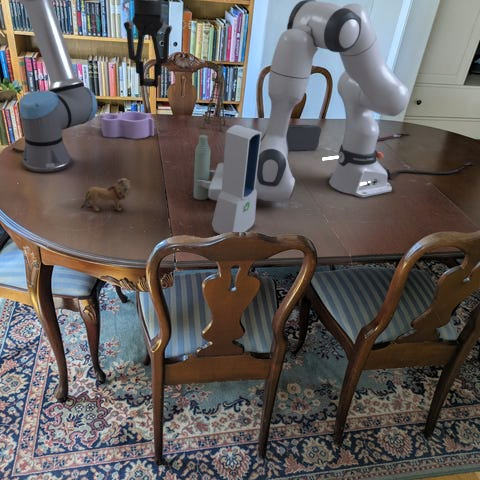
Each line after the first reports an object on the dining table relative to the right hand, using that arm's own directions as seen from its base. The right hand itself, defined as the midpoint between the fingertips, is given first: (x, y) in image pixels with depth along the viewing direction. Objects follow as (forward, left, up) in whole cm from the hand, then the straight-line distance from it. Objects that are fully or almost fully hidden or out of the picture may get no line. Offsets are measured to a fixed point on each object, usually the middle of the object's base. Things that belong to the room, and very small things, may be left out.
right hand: (198, 177), depth 147 cm
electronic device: (-5, +21, -7) cm, 23 cm away
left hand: (+13, -14, +25) cm, 31 cm away
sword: (-100, -40, -7) cm, 108 cm away
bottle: (-1, 0, -7) cm, 7 cm away
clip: (+15, -57, -7) cm, 59 cm away
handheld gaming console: (-48, -33, -7) cm, 59 cm away
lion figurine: (+28, +3, -7) cm, 29 cm away
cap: (+13, -14, +26) cm, 32 cm away
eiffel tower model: (-23, -62, -7) cm, 66 cm away
